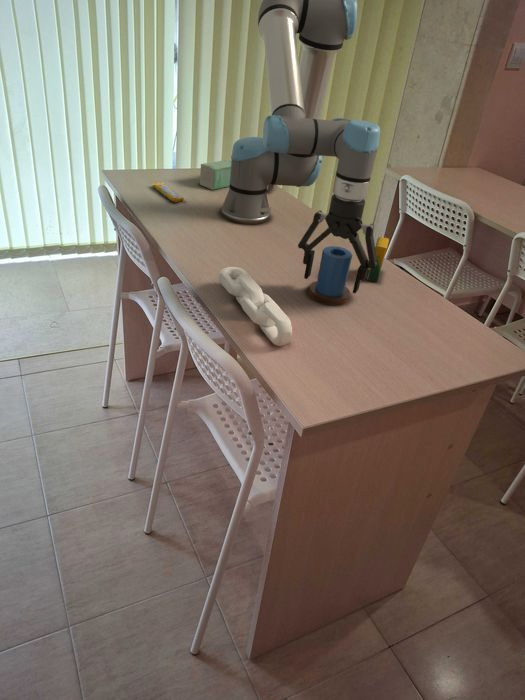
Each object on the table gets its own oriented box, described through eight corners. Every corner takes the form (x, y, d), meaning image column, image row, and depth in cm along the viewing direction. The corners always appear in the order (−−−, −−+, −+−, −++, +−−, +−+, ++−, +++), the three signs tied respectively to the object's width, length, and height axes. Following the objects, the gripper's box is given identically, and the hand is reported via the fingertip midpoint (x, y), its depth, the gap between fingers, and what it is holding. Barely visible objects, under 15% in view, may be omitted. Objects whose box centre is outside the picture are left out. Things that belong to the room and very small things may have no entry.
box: (240, 184, 196) (242, 163, 192) (213, 190, 187) (214, 169, 183) (226, 179, 200) (228, 158, 196) (199, 184, 191) (199, 163, 187)
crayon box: (377, 282, 142) (388, 241, 135) (366, 280, 142) (376, 239, 136) (380, 271, 148) (391, 231, 141) (370, 269, 148) (379, 229, 142)
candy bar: (184, 202, 174) (185, 197, 173) (173, 204, 172) (173, 198, 171) (162, 186, 185) (162, 180, 184) (151, 187, 183) (151, 181, 182)
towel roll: (314, 282, 134) (320, 245, 129) (340, 283, 135) (348, 247, 130) (319, 295, 129) (326, 257, 123) (346, 297, 130) (355, 259, 124)
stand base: (305, 284, 136) (306, 279, 135) (343, 286, 138) (345, 281, 137) (312, 304, 128) (313, 298, 127) (353, 306, 130) (354, 300, 129)
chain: (297, 347, 112) (301, 321, 109) (271, 352, 109) (274, 326, 106) (238, 281, 133) (241, 258, 130) (215, 284, 131) (217, 261, 127)
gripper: (292, 188, 119) (280, 275, 132) (398, 214, 113) (374, 304, 125) (304, 180, 125) (291, 264, 138) (405, 205, 119) (382, 291, 131)
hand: (331, 283), depth 131 cm, fingers open, 12 cm apart
